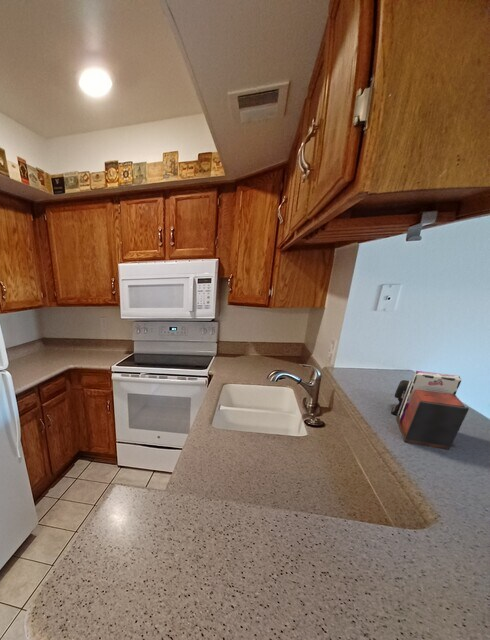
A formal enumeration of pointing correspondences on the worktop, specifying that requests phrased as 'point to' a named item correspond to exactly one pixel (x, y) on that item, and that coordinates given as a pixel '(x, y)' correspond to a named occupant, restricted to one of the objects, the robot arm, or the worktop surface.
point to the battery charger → (401, 396)
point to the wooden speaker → (432, 419)
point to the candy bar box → (431, 385)
